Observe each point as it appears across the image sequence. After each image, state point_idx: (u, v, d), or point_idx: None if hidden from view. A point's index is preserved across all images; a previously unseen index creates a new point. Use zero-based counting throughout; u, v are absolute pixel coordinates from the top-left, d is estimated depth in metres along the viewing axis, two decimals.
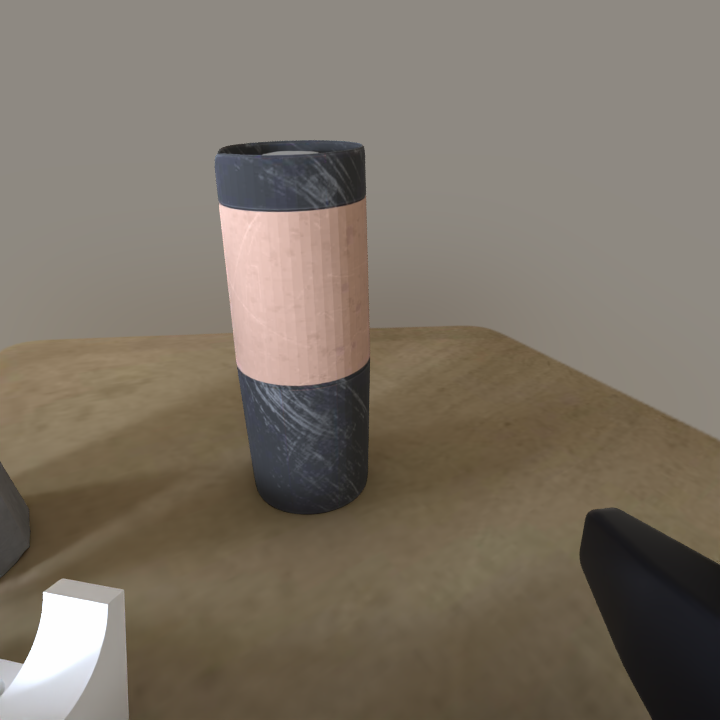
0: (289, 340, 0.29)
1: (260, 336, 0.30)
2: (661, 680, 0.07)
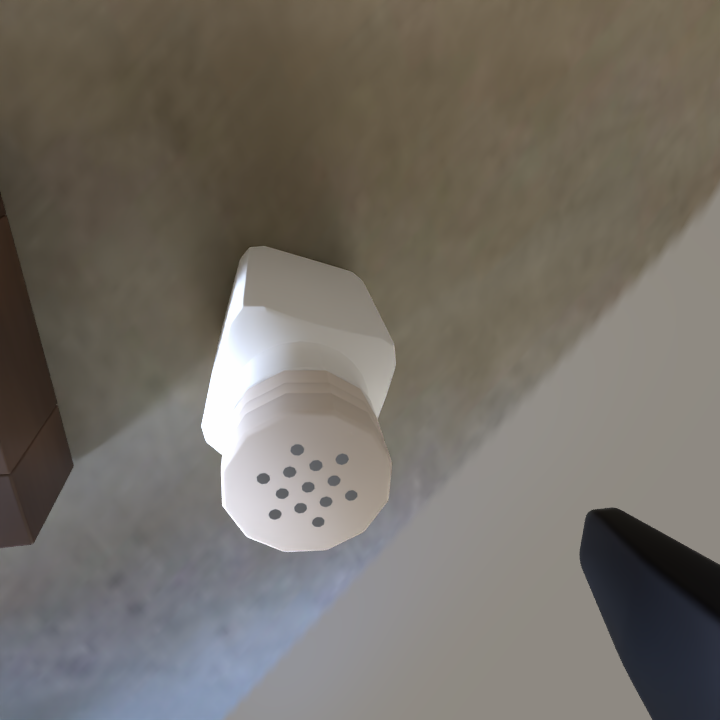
0: None
1: None
2: (661, 680, 0.07)
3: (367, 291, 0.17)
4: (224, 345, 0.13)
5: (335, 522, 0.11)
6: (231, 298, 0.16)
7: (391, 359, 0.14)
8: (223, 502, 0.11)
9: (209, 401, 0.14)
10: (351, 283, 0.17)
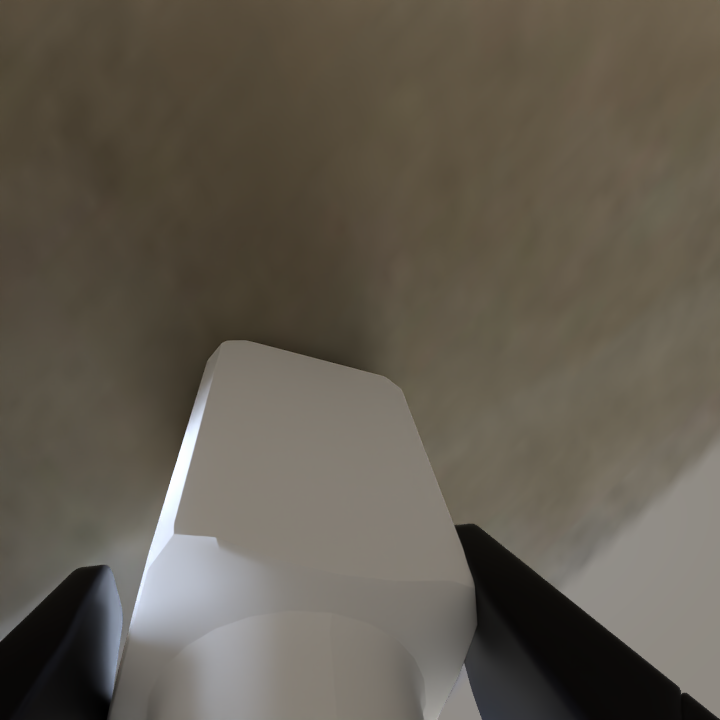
0: None
1: None
2: (494, 705, 0.07)
3: (411, 418, 0.11)
4: (135, 609, 0.06)
5: None
6: None
7: (469, 614, 0.07)
8: None
9: (112, 701, 0.07)
10: (385, 409, 0.10)
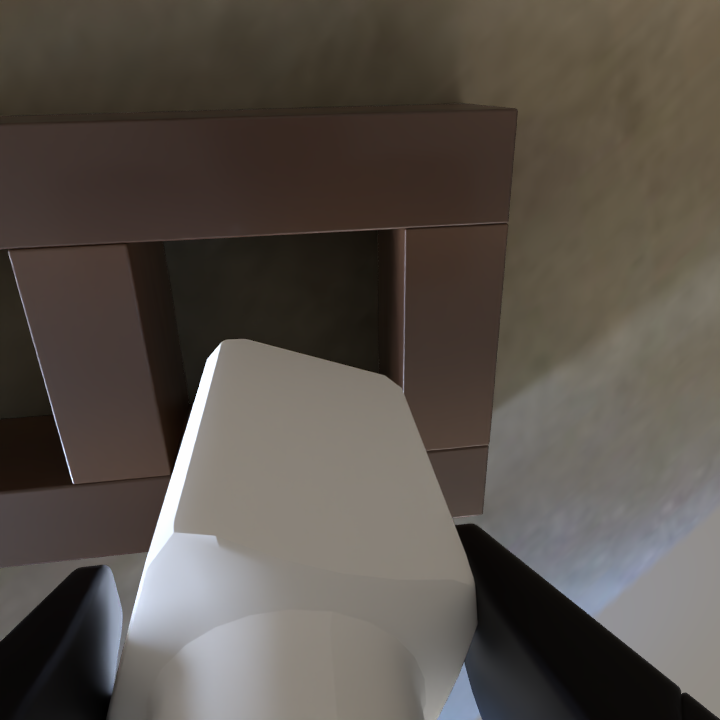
0: None
1: None
2: (494, 705, 0.07)
3: (411, 417, 0.11)
4: (135, 607, 0.06)
5: None
6: None
7: (469, 614, 0.07)
8: None
9: (111, 700, 0.07)
10: (385, 408, 0.10)
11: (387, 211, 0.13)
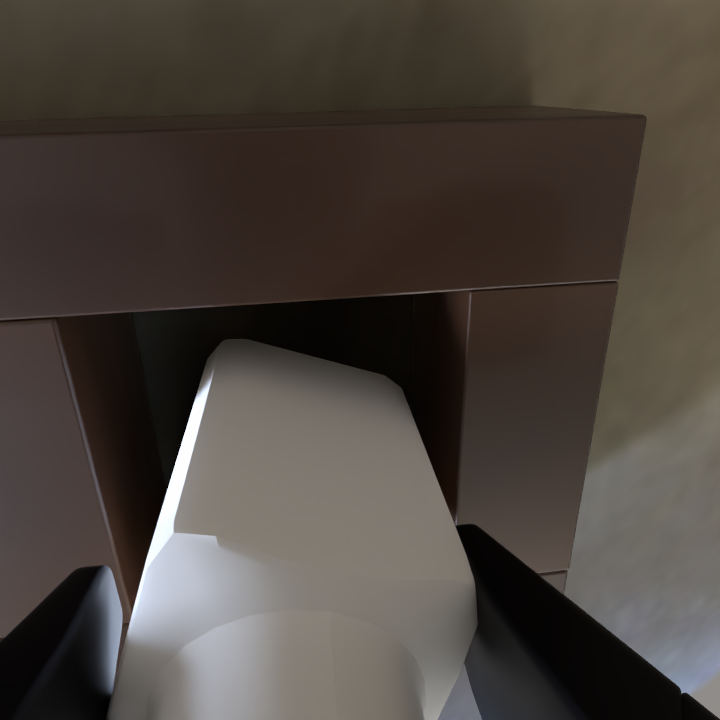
0: None
1: None
2: (494, 705, 0.07)
3: (411, 417, 0.11)
4: (135, 607, 0.06)
5: None
6: None
7: (469, 614, 0.07)
8: None
9: (112, 700, 0.07)
10: (385, 408, 0.10)
11: (446, 267, 0.09)
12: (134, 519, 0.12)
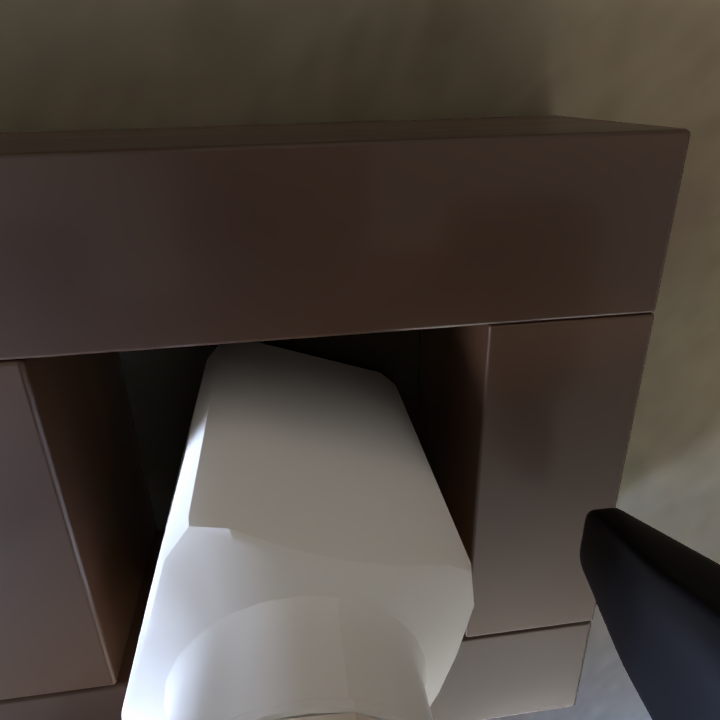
0: None
1: None
2: (661, 680, 0.07)
3: (405, 412, 0.11)
4: (153, 597, 0.07)
5: None
6: (187, 440, 0.10)
7: (465, 596, 0.08)
8: None
9: (130, 686, 0.07)
10: (381, 404, 0.11)
11: (463, 299, 0.08)
12: (118, 569, 0.11)
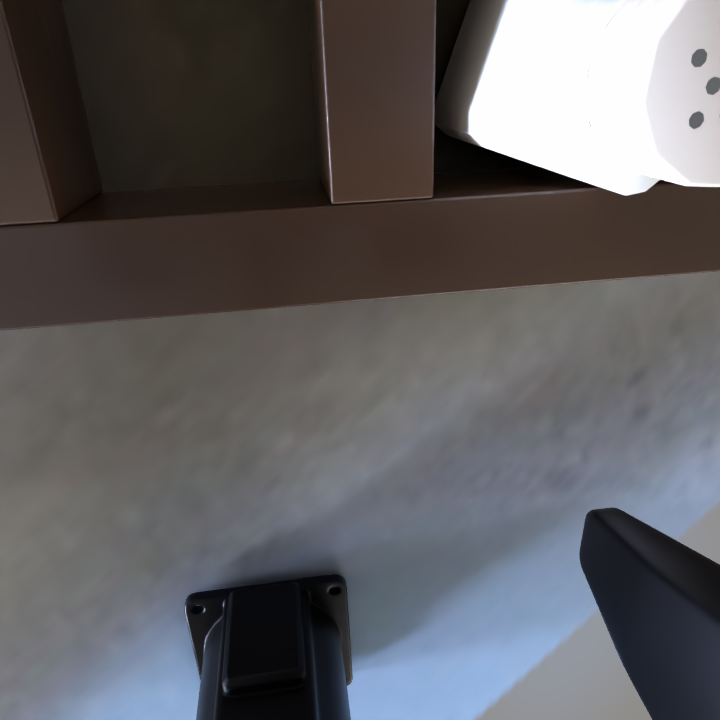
0: None
1: None
2: (661, 680, 0.07)
3: None
4: None
5: None
6: (487, 13, 0.14)
7: None
8: (642, 95, 0.09)
9: (521, 74, 0.11)
10: None
11: None
12: None
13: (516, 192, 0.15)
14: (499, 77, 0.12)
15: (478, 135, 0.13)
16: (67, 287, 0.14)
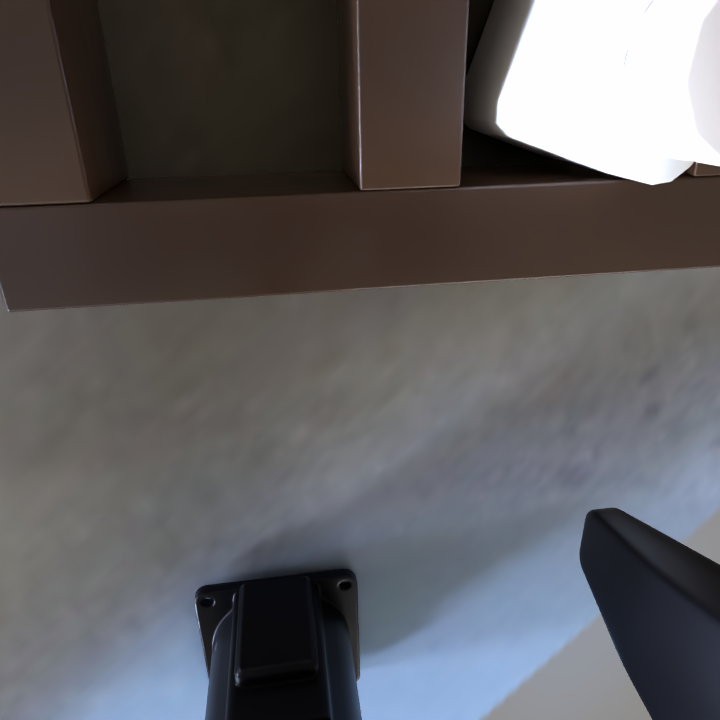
0: None
1: None
2: (661, 680, 0.07)
3: None
4: None
5: None
6: (516, 6, 0.14)
7: None
8: (684, 75, 0.09)
9: (556, 61, 0.12)
10: None
11: None
12: None
13: (540, 182, 0.15)
14: (531, 66, 0.13)
15: (507, 124, 0.13)
16: (97, 268, 0.14)
